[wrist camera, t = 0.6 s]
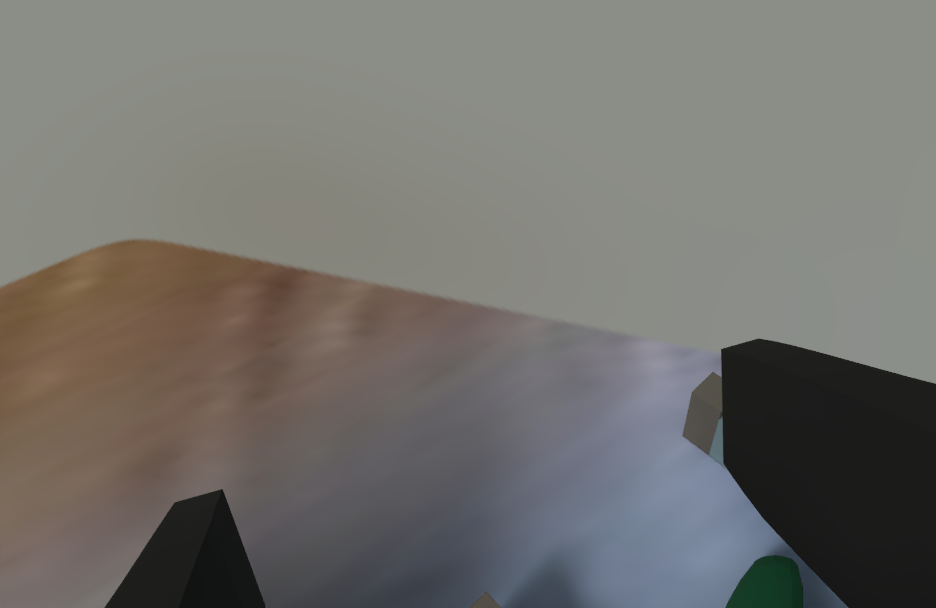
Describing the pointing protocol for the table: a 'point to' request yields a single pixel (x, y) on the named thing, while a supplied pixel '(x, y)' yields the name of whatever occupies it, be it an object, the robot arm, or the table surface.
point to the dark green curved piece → (769, 585)
